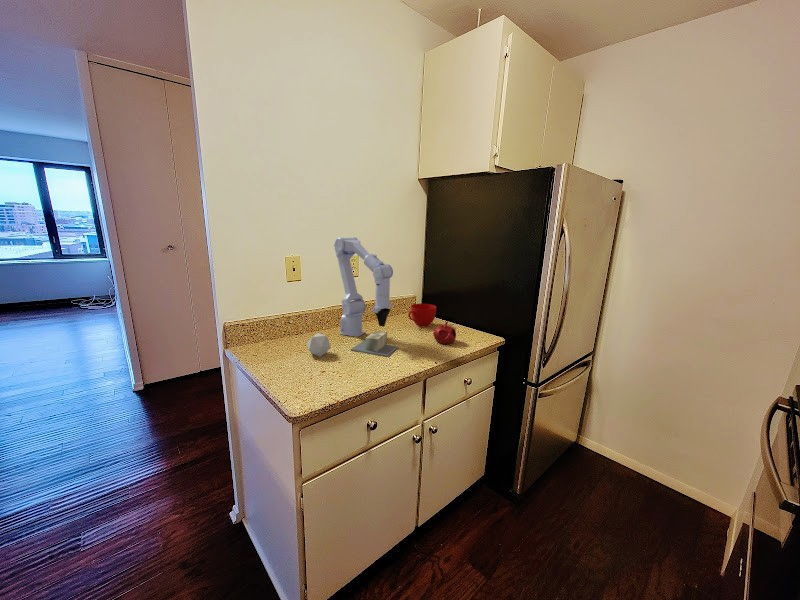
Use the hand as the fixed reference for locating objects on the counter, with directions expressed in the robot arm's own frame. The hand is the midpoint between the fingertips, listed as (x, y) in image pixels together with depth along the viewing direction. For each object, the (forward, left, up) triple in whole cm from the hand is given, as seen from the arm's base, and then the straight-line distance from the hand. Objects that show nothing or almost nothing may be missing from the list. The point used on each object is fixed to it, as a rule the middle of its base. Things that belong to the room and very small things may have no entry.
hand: (382, 325), depth 136 cm
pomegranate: (+24, +14, -8) cm, 29 cm away
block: (0, 0, -5) cm, 5 cm away
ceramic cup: (+7, +33, -8) cm, 35 cm away
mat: (0, -7, -8) cm, 11 cm away
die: (-17, -21, -8) cm, 28 cm away
